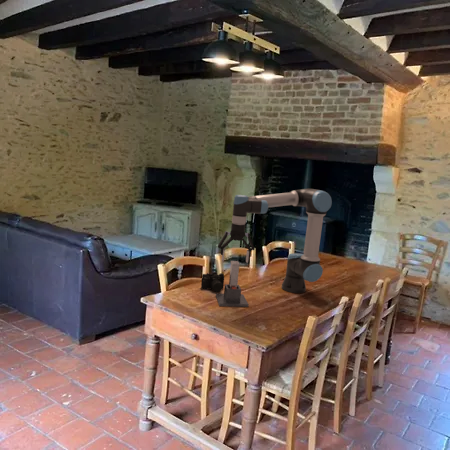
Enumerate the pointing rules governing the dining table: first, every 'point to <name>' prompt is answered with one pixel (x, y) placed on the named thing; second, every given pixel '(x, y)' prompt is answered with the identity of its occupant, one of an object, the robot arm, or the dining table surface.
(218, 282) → the camera
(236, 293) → the stand base
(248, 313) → the dining table surface
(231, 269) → the column
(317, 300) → the dining table surface
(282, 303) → the dining table surface
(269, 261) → the dining table surface
